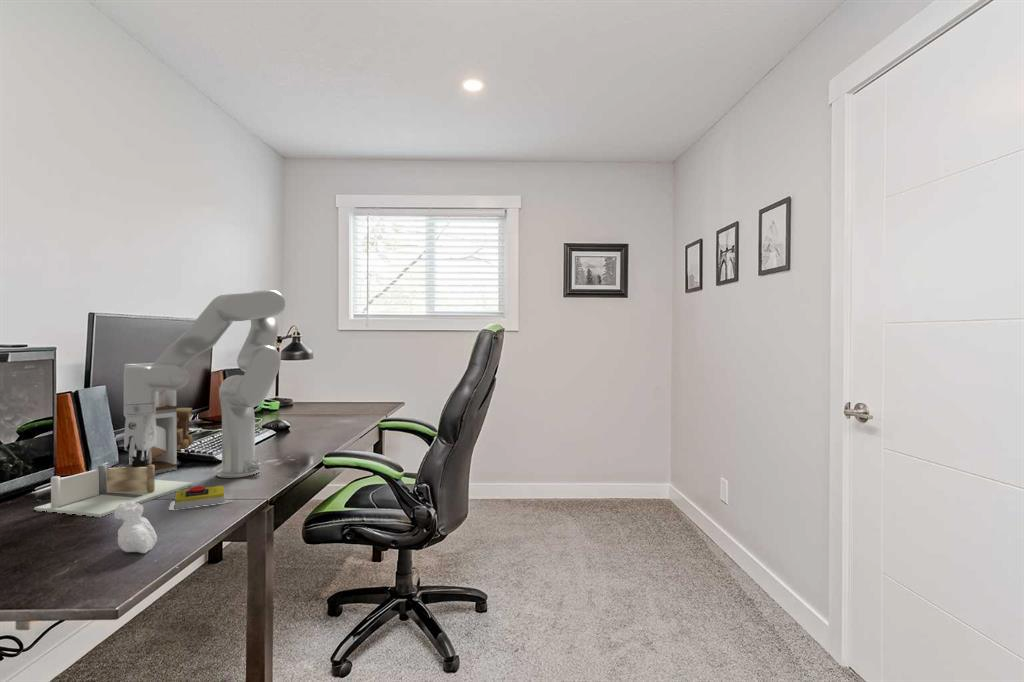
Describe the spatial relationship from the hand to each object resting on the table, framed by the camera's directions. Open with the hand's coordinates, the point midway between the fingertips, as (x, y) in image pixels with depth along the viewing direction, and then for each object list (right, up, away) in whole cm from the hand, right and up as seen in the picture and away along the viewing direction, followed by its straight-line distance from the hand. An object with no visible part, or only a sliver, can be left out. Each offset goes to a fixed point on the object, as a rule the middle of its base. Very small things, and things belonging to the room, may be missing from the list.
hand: (139, 473), depth 156 cm
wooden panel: (-1, -4, -3) cm, 5 cm away
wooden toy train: (-18, -5, +45) cm, 49 cm away
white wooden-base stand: (-13, -5, +24) cm, 28 cm away
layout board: (-3, -5, -4) cm, 7 cm away
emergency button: (+22, -6, -8) cm, 24 cm away
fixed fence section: (-9, -5, -9) cm, 14 cm away
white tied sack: (+27, -6, -40) cm, 49 cm away
